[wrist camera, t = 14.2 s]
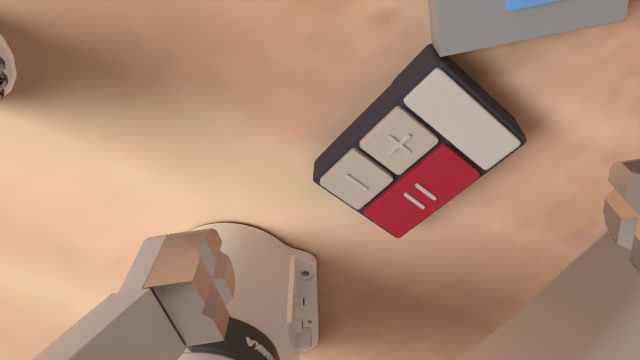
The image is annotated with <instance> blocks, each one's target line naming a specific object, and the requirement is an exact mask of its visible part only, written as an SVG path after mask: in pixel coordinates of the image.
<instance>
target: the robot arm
mask: <svg viewBox="0 0 640 360" xmlns="http://www.w3.org/2000/svg"><path fill="white" fill-rule="evenodd" d="M608 181H609V182H610V184H611V185H612V186H613V187H614V189H613V190H612V191H611V193H610V194H609V195H608V196H607V197H606V198H605V202H604V211H603V212H604V218H605V223H606V226H607V228H608V231H609V232H610V235H611V236H612V238H613V239H614V240H615V242H616V243H617V244H619V245H621V246H623V247H625V248H627V249H630V250H631V254H630V259H629V260H630V261H631V263H632V264H633V265H634V267H635V268H636V269H637V271H638V272H639V273H640V159H634V160H628V161H622V162H616V163H613V165H612V167H611V168H610V171H609V177H608ZM304 271H307V272H304ZM318 339H319V320H318V286H317V260H316V258H315V257H314V256H313V255H312V254H310V253H307V252H305V251H301V250H298V249H294V248H291V247H289V246H287V245H285V244H284V243H282V242H281V241H279V240H278V239H276V238H275V237H273V236H272V235H270V234H268V233H266V232H264V231H262V230H260V229H257V228H254V227H251V226H247V225H242V224H235V223H214V224H208V225H204V226H200V227H197V228H195V229H192V230H190V231H188V232H181V233H174V234H170V235H161V236H155V237H149V238H147V239H146V240H144V242H143V244H142V246H141V248H140V250H139V252H138V254H137V256H136V258H135V260H134V262H133V264H132V266H131V268H130V270H129V272H128V274H127V276H126V278H125V280H124V282H123V284H122V287H121V289H120V291H119V293H113V294H111V295H110V296H108V297H107V298H106V299H105V300H104V301H102V302H101V303H100V304H99V305H97V306H96V307H95V308H94V309H93V310H91V311H90V312H89V313H88V314H87V315H85V316H84V317H83V318H82V319H81V320H79V321H78V322H77V323H76V324H75V325H73V326H72V327H71V328H70V329H68V330H67V331H66V332H65V333H64V334H62V335H61V336H60V337H59V338H58V339H56V340H55V341H54V342H53V343H52V344H50V345H49V346H48V347H47V348H45V349H44V350H43V351H42V352H41V353H39V354H38V355H37V356H36V357H35V358H33V359H32V360H299V355H300V354H303V353H305V352H308V351H310V350H311V349H313V348H315V347H316V346H317V345H318Z"/></svg>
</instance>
